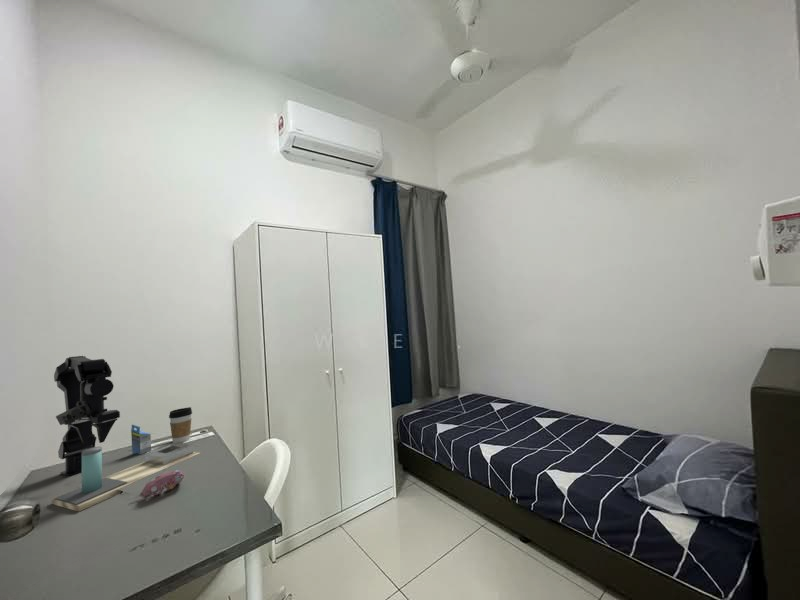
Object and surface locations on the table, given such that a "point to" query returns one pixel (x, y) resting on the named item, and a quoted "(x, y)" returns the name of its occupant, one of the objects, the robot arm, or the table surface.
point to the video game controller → (162, 483)
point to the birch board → (124, 475)
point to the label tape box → (140, 440)
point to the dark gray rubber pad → (78, 497)
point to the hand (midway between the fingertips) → (93, 442)
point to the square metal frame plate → (168, 454)
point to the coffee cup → (180, 424)
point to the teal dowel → (91, 469)
